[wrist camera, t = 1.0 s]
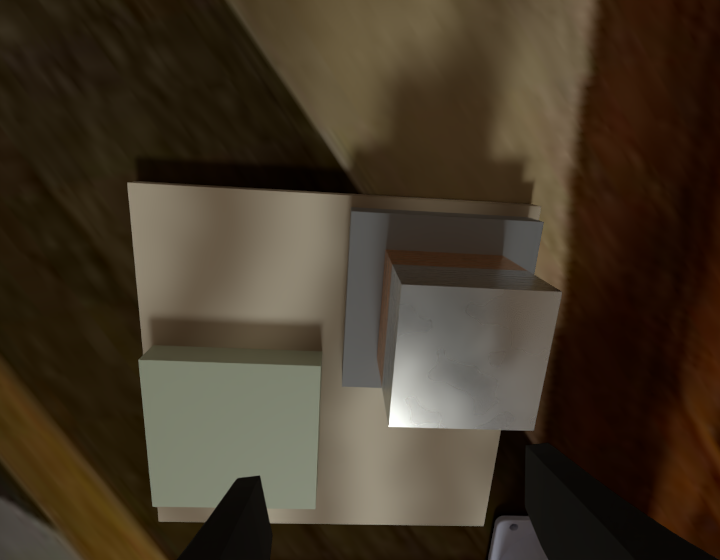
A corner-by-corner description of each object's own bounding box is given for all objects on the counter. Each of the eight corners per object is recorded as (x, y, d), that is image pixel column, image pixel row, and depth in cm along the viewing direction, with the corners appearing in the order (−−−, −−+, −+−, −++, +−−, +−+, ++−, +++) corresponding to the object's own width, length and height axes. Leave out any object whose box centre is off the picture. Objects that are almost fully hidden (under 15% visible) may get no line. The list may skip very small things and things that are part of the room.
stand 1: (322, 351, 20) (320, 366, 19) (317, 486, 22) (315, 509, 21) (153, 345, 20) (138, 359, 18) (165, 483, 22) (152, 506, 21)
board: (531, 204, 20) (541, 206, 19) (478, 511, 25) (483, 526, 24) (138, 181, 19) (127, 182, 18) (166, 506, 24) (158, 521, 23)
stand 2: (528, 217, 19) (543, 222, 17) (500, 376, 21) (512, 392, 20) (350, 207, 18) (351, 211, 17) (341, 370, 21) (341, 386, 19)
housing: (502, 255, 18) (562, 291, 13) (485, 362, 19) (533, 430, 14) (385, 249, 17) (401, 284, 13) (376, 357, 19) (388, 426, 14)
